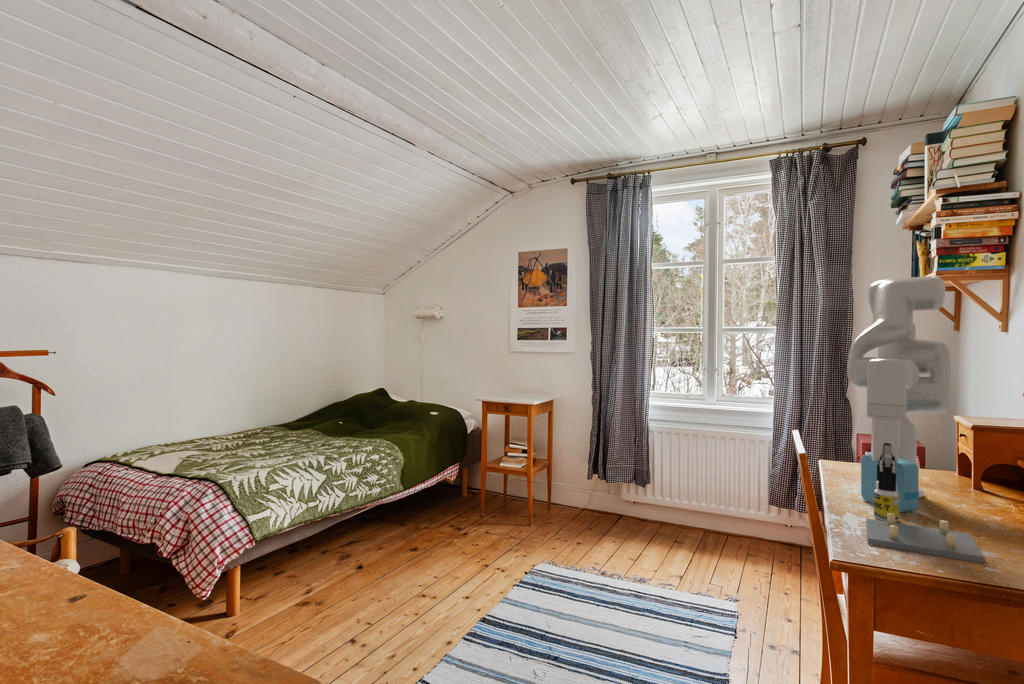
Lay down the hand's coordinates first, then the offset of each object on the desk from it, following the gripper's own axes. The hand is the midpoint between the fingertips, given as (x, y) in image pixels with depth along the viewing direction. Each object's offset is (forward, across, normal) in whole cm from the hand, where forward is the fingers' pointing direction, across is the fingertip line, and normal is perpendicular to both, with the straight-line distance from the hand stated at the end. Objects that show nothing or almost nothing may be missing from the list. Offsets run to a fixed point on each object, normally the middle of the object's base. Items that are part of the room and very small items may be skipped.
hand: (886, 486), depth 124 cm
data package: (+8, -13, +1) cm, 15 cm away
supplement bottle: (+8, -1, 0) cm, 8 cm away
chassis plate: (+8, +12, +5) cm, 16 cm away
